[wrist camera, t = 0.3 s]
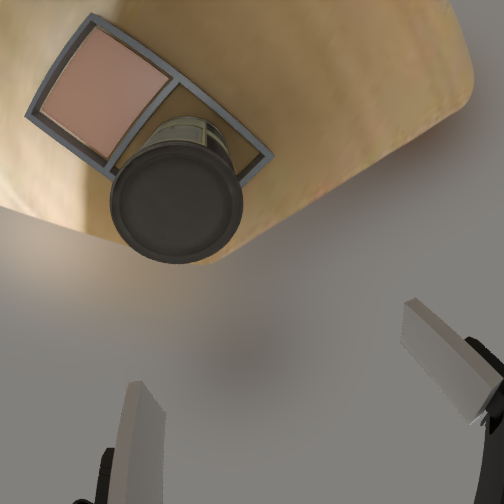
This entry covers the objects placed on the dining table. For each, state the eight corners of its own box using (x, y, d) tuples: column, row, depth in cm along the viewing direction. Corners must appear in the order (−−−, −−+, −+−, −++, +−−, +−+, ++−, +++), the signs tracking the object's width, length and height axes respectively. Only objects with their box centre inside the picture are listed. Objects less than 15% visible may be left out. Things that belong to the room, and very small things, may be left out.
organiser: (97, 15, 18) (91, 12, 16) (271, 151, 32) (274, 156, 31) (32, 113, 23) (24, 116, 21) (193, 230, 37) (193, 238, 36)
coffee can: (244, 139, 31) (270, 183, 20) (203, 207, 36) (204, 280, 24) (167, 100, 27) (140, 118, 16) (131, 175, 31) (94, 237, 20)
